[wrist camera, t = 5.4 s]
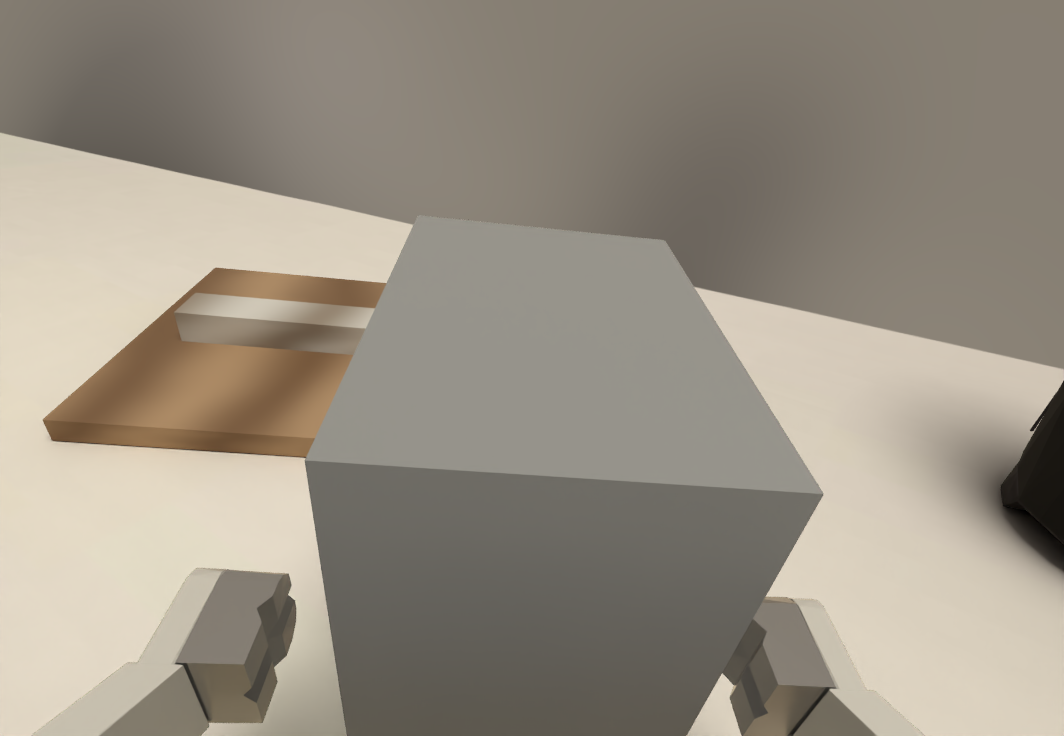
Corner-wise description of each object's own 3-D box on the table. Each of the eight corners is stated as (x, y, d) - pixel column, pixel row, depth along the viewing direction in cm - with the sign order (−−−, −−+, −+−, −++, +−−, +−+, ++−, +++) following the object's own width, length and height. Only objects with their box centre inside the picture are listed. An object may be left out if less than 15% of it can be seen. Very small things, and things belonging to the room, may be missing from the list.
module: (366, 882, 12) (299, 460, 5) (416, 587, 17) (415, 215, 11) (605, 882, 12) (827, 494, 5) (575, 594, 18) (666, 240, 11)
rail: (52, 440, 21) (26, 386, 19) (218, 283, 32) (210, 243, 31) (762, 486, 23) (784, 441, 22) (680, 324, 35) (690, 288, 33)
